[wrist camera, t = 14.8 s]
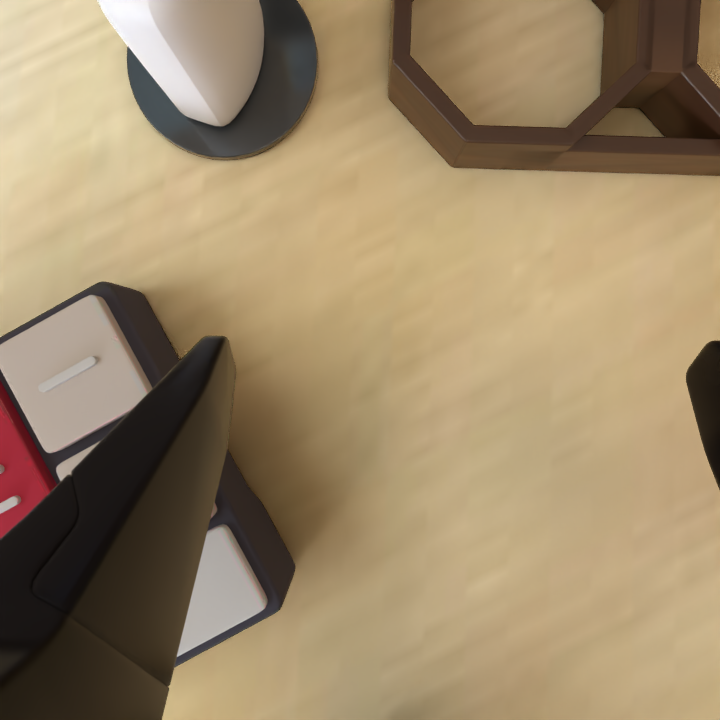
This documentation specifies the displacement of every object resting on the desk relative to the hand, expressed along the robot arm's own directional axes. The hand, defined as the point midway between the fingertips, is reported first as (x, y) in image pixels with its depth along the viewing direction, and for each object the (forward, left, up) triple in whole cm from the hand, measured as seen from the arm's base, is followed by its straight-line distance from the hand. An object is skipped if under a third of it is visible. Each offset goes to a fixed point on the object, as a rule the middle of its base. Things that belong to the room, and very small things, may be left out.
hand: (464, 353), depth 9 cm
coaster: (+5, +14, -13) cm, 20 cm away
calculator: (-13, +6, -14) cm, 20 cm away
